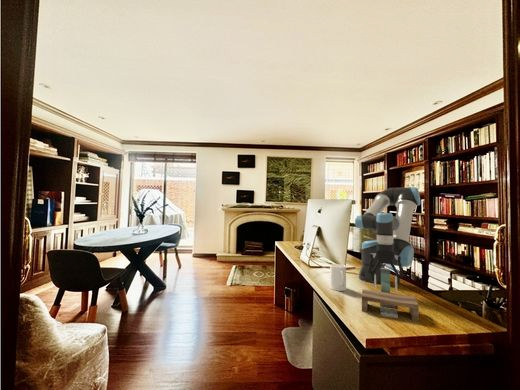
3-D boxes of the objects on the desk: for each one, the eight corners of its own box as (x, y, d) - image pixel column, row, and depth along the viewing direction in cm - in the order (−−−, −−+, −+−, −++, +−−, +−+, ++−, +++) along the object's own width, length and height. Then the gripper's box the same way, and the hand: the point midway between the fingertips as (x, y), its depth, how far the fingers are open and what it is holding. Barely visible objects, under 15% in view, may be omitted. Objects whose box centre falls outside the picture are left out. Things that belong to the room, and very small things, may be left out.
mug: (350, 293, 121) (350, 269, 121) (333, 293, 121) (333, 268, 122) (344, 286, 132) (343, 263, 133) (328, 285, 133) (328, 263, 134)
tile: (380, 310, 102) (380, 306, 102) (396, 313, 99) (396, 309, 100) (380, 316, 97) (380, 312, 97) (397, 319, 94) (397, 315, 94)
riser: (362, 302, 109) (362, 289, 109) (414, 311, 101) (414, 296, 101) (361, 311, 100) (361, 296, 100) (418, 321, 92) (418, 305, 92)
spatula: (378, 291, 124) (378, 267, 125) (392, 293, 122) (391, 269, 122) (379, 305, 106) (379, 277, 107) (395, 308, 104) (395, 279, 104)
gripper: (361, 242, 124) (362, 287, 122) (410, 246, 114) (411, 294, 113) (362, 241, 130) (362, 283, 129) (408, 244, 121) (409, 289, 120)
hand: (385, 288), depth 121 cm, fingers open, 9 cm apart
